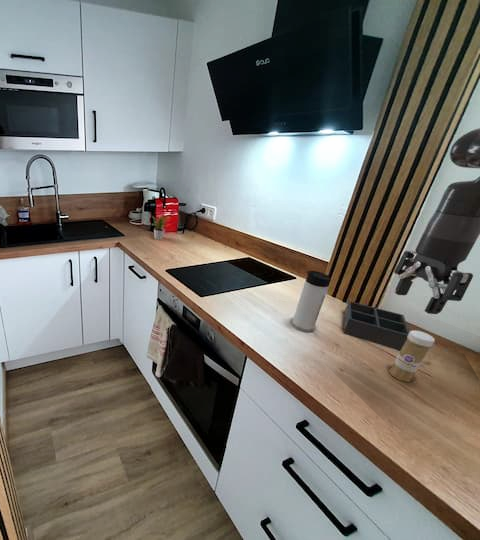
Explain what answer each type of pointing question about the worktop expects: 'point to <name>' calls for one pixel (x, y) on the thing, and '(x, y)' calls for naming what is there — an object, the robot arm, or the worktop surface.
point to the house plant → (159, 227)
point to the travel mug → (311, 301)
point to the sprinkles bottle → (411, 355)
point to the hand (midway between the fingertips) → (414, 303)
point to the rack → (375, 325)
